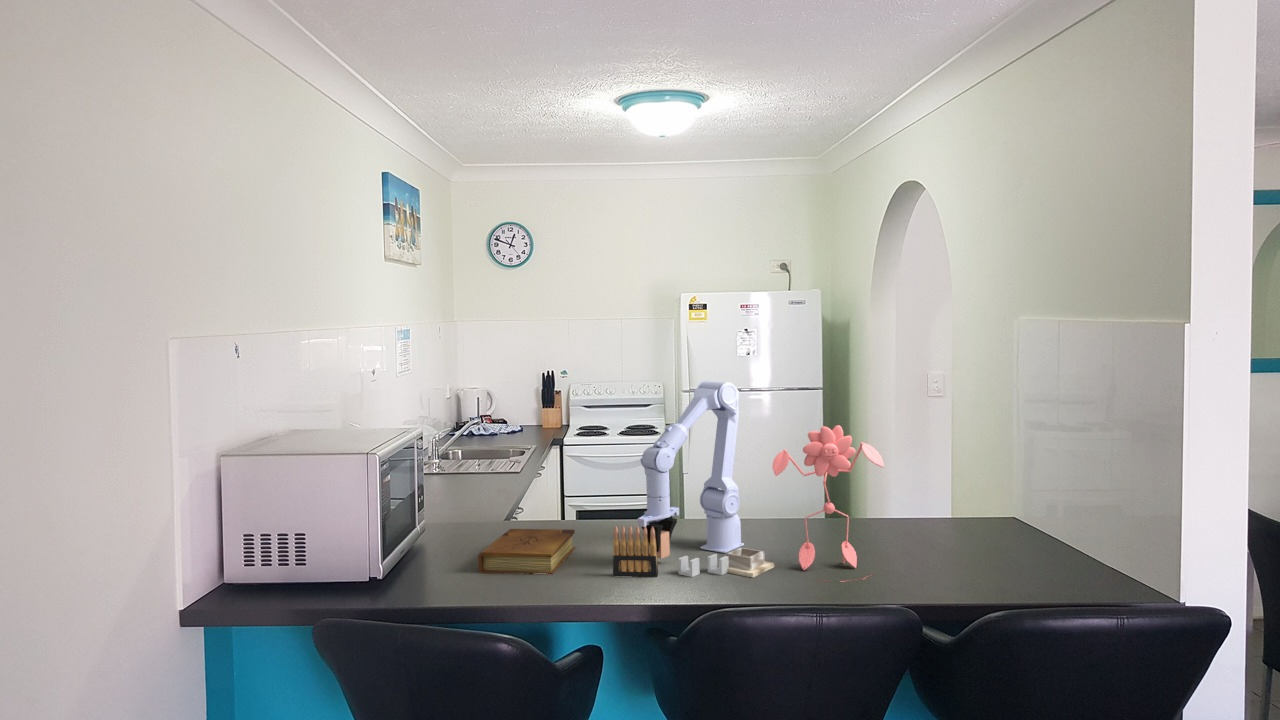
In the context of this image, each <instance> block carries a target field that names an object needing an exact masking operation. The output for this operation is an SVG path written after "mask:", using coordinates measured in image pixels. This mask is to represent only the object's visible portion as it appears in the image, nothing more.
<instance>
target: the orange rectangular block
mask: <svg viewBox="0 0 1280 720" xmlns="http://www.w3.org/2000/svg"><path fill="white" fill-rule="evenodd" d="M670 545H671V544H669V531H663V530H662V531H661V535H660V548H659V552H657V559H661V560H663V559H664V558H667V557H669V556H671V555H670V553H671V549H670V548H671V547H670Z"/></svg>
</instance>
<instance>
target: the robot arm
mask: <svg viewBox="0 0 1280 720" xmlns="http://www.w3.org/2000/svg"><path fill="white" fill-rule="evenodd" d="M739 396H740V391H739V390H738V389H737V387H736V386H735V384H734V383H732V382H729V381H727V382H726V381H725V382H721V381H709V380H703V381H701V382H700V383H699V384H698V386H697V388H696V389H694V391H693V398H692V399H691V400H690V402H689V404H688V405H687V407H686V408H685V410H684V411H683V412H682V414H681V415H680V417H679V419H678V420H677V421H676V423H669V425H666V426H665V427H664V431H663V432H662V433H661V435H660V436H659V438H658V439H656V440H655V441H654V443H653V445H652V446H649V447H647V448H645V450H644V451H643V453H642V456H641V458H640V463H641V466H642V468H644V474H645V476H646V477H645V478H646V479H645V481H646V484H645V485H646V509H647V510H645V511H644V513H643V515H641V516H640V517H638V518H637V526H638V527H639V528H640V527H641V529H642V531H643V530H644V527H645V526H646V529H647V533H648V543H649V547H650V532H651V528H652V526H653V527H654V531H655V539H656V548H657V552H659V548H660V535H661V531H662V530H663V531H669V544H670V543H671V538H672V534H673V531H674V529H675V527H676V525H677V523H678V521H677V520H678V519H677V518H675V517H674V516H676V517H677V516H679V515H680V507H677V506H671V497H670V495H671V494H670V493H671V492H670V470H671V469H672V468H673V467H674V463H675V458H676V456H677V453H678V452H679V450H680V449H681V447H682V446H683V445H684V444H685V443H686V441H687V440H688V437H689V436H688V431H689V430H690V429H691V428H692V426H693V425H694V424H695V423H696V422H697V421H698V420H699V419H700V418H701V417H702V415H703V414H704V413H705V412H706V411H710V410H711V411H712V412H713V413H714V415H715V417H716V418H717V423H716V431H715V440H714V442H715V443H714V447H713V448H714V450H713V458H712V466H711V476H710V477H709V478H708V479H707V480H706V481H705V482H704V483H703V489H702V491H701V493H700V496H699V504H700V506H701V508H702V509H703V510H704V514H705V515H706V517H705V519H706V521H705V522H706V544H704V545H702V546H700V550H701V549H702V550H706V551H710V552H715V553H716V552H717V553H723V554H727V553H729V552H731V551H733V550H736V549H738V548H740V547H742V546H743V547H744V546H745V543H744V542H742V530H741V529H742V528H741V527H742V525H741V523H742V522H741V518H740V516H739V515H738V514H737V512H738V511H739V509H740V505H741V502H740V496H739V495H740V494H739V491H740V489H739V486H738V485H737V483H736V482H735V481H734V480H733V474H734V473H733V472H734V466H735V465H734V463H735V455H736V444H737V436H738V427H739V419H740V408H739V400H740V399H739V398H740V397H739ZM670 545H671V544H670Z"/></svg>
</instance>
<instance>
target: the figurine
mask: <svg viewBox="0 0 1280 720" xmlns="http://www.w3.org/2000/svg"><path fill="white" fill-rule="evenodd" d="M807 437H808V439H809V441H810V443H807V444H806V445H805V446H804V447H803V448H802V452H803V453H804V454H805V457H804V459H803V464H804V466H806V467H810V466H811V467H812V466H814V471H810V472H807V473H806V472H805V473H804V471H803V470H802V469H801V467H800V466H798V464H797V463H796V462H795V460H794V458H792V456H791V455H790V454H789V453H788V451H787V449H783V450H781V451H780V452H778V454H777V455H776V456H775V457H774V459H773V461H772V471H773V474H774V476H775V477H777V476H779V475H780V474H781V473H782V472H783V471H785V470H786V468H787V467H788V465H789V462H790V461H791V463H792V464H793V465H794V466H795V467H796V469H797V470H798V471H799V472H800V474H801V475H802V476H803V477H806V476H807V477H808V476H810V475H813V474H814V475H816V476H817V477H822V476H824V478H823V481H822V482H823V483H822V484H823V487H824V492H825V496H826V498H827V502H826V503H824V504H823V509H822V510H820V511H816V512H814V513H812V514H809V515H807V516H805V517H804V524H805V525H804V526H805V536H806V537H805V538H806V542H804V543H803V544H802V545H801V546H800V548H799V551H798V561H799V564H800V566H801V569H802V570H803V571H805V570H807V569H808V568H809V567H810V566H811V565H812V564H813V562H814V560H815V558H816V550H815V545H814V544H813V543H812V542H809V533H808V522H807V519H808V518H810V517H813V516H815V515H817V514H820V513H823V512H824V513H826V514H828V515H831V514H833V513H834V512H836V513H838V514H840V515H843V516H844V517H846V540H844V541H842V543H841V545H840V546H841V547H840V548H841V552H842V563H841V564H845V563H846V562H847V563H848V564H850V566H852V567H853V568H854V569H857V564H858V563H857V562H858V560H857V559H858V557H857V552H856V550H855V548H854V546H852V544H850V542H848V540H849V521H850V520H849V519H850V517H849V515H848V514H845V513H843V512H842V511H839V510H837V509H836V508H835V507H836V506H835V505H834V503H832V502H831V499H830V497H829V493H828V489H827V488H828V487H827V485H826V482H827V478H828V475H829V476H831V477H833V478H834V477H838V475H839V472H843V473H844V472H845V473H851V471H852V470H853V467H854V465H855V464H856V462H857V459H858V457H859V455H860V452H861V451H862V453H863V455H864V456H865V457H866V458H867V460H869V461H870V462H871V463H872V464H874V465H876V466H879V467H880V468H885V464H884V461H883V458H882V455H880V453H879V451H878V450H876V449H875V447H873V446H872V445H870V444H869V443H865V442H863V441H861V442H860V445H859V446H858V447H859V448H858V450H857V451H856V448H854V447H851V446H852V442H853V438H852V436H851V435H846V436H844V430H843V428H842V426H841V425H835V426H834V427H833V428H832V429H831V428H829V427H827V426H824V425H823V426H821V427H820V431H817V430H811V431H809V432H808V433H807ZM852 457H854V459H853V460H852V463H851V461H849V460H848V459H850V458H852ZM873 575H875V573H873V574H871V575H868V576H866V577H865V576H864V577H861V578H860V580H865V579H868V578H869V577H871V576H873ZM858 580H859V578H857V579H854V581H858ZM816 581H819V579H816ZM820 581H824V582H830V579H829V580H826V579H820ZM849 581H850V582H851V581H853V579H847V580H846V579H845V580H840V583H843V582H849Z"/></svg>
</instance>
